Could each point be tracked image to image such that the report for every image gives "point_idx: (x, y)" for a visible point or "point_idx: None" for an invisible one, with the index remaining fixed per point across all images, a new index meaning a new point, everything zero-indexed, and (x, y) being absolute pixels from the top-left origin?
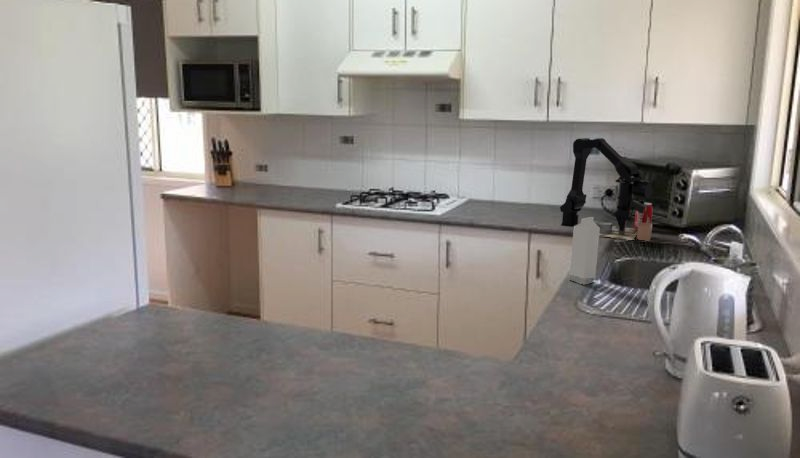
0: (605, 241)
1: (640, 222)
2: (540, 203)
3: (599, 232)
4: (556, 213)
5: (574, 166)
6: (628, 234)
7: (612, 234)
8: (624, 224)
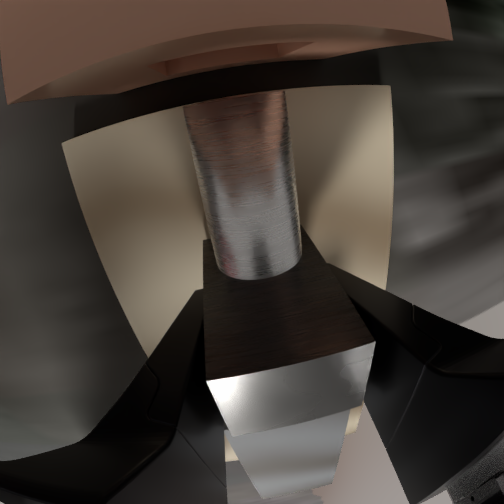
0: (461, 278)
1: (15, 85)
2: None
3: None
4: None
5: None
6: (196, 197)
7: None
8: (404, 306)
